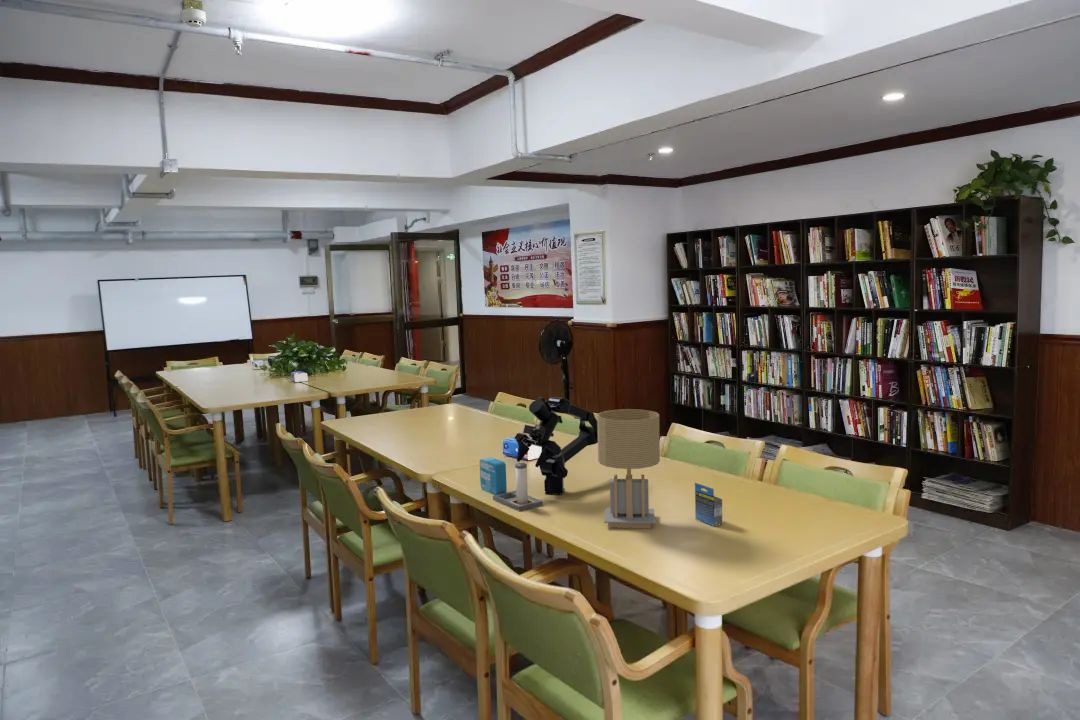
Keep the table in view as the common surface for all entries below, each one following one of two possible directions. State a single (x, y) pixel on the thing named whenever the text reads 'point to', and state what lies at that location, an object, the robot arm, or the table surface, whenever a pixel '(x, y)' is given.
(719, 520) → the label tape cartridge
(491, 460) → the blue box
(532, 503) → the jack panel
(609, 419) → the desk lamp
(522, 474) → the white cylinder with cap
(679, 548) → the table surface
